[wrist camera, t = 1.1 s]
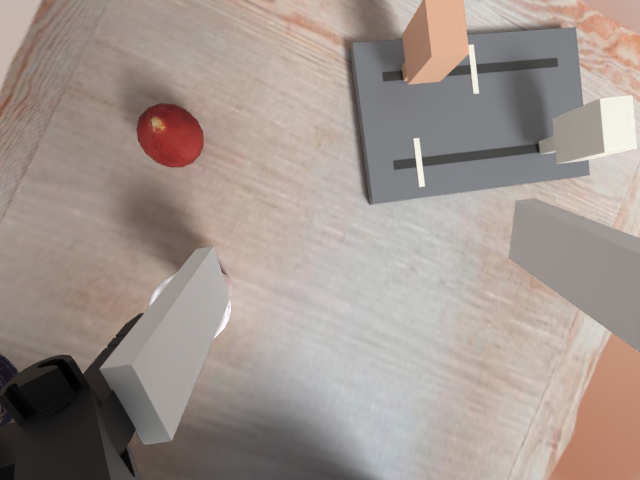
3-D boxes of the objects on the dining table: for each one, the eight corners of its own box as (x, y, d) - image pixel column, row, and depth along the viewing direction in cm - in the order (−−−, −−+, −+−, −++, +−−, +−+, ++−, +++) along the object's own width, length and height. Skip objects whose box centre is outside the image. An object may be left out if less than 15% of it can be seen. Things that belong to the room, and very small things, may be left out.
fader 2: (560, 166, 36) (636, 148, 29) (534, 169, 36) (604, 152, 28) (556, 124, 36) (632, 95, 28) (530, 127, 36) (599, 98, 28)
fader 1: (426, 94, 34) (469, 53, 26) (397, 97, 34) (431, 56, 26) (421, 50, 34) (462, -5, 26) (391, 52, 34) (424, -3, 26)
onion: (144, 147, 33) (99, 120, 25) (181, 109, 33) (148, 70, 25) (187, 184, 33) (156, 169, 25) (222, 146, 34) (203, 119, 26)
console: (577, 177, 39) (590, 174, 37) (369, 204, 36) (373, 203, 34) (564, 35, 38) (576, 26, 36) (349, 50, 35) (352, 42, 33)
